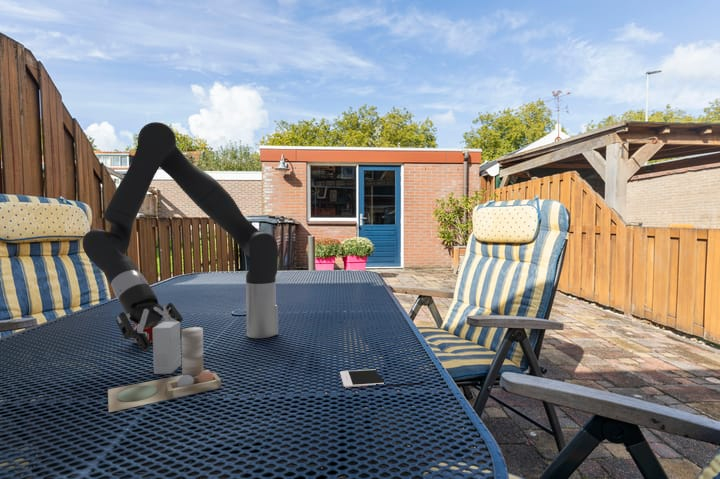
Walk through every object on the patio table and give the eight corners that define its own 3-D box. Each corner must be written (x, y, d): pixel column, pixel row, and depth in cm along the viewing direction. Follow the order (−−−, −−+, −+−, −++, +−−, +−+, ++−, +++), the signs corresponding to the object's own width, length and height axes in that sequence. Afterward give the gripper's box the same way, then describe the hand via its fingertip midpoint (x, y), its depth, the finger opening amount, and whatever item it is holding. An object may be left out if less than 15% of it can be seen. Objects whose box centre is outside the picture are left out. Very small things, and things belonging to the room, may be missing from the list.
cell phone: (423, 385, 88) (423, 381, 88) (344, 390, 85) (344, 386, 85) (412, 370, 97) (412, 366, 96) (339, 374, 94) (339, 371, 94)
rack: (208, 374, 93) (207, 324, 92) (221, 393, 83) (220, 336, 82) (108, 395, 82) (106, 337, 81) (108, 418, 72) (107, 353, 71)
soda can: (147, 345, 115) (146, 305, 114) (127, 344, 116) (126, 304, 116) (163, 339, 122) (162, 301, 121) (144, 338, 123) (143, 300, 122)
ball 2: (212, 381, 86) (211, 367, 85) (215, 386, 83) (215, 372, 83) (196, 385, 84) (196, 370, 84) (199, 390, 81) (199, 375, 81)
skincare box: (163, 369, 96) (162, 321, 96) (181, 369, 96) (180, 321, 96) (152, 379, 90) (151, 327, 90) (171, 378, 90) (170, 327, 90)
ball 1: (192, 386, 83) (192, 371, 83) (195, 391, 81) (195, 376, 81) (176, 389, 82) (175, 374, 81) (178, 395, 79) (178, 379, 79)
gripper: (111, 286, 90) (144, 342, 86) (166, 279, 103) (197, 327, 98) (98, 307, 93) (129, 362, 88) (153, 297, 106) (183, 345, 101)
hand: (165, 343), depth 93 cm, fingers open, 8 cm apart
